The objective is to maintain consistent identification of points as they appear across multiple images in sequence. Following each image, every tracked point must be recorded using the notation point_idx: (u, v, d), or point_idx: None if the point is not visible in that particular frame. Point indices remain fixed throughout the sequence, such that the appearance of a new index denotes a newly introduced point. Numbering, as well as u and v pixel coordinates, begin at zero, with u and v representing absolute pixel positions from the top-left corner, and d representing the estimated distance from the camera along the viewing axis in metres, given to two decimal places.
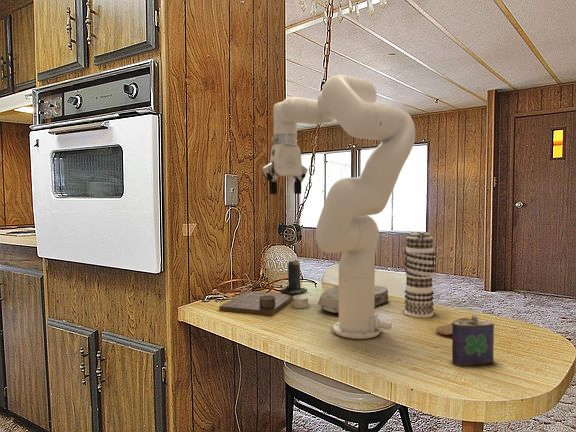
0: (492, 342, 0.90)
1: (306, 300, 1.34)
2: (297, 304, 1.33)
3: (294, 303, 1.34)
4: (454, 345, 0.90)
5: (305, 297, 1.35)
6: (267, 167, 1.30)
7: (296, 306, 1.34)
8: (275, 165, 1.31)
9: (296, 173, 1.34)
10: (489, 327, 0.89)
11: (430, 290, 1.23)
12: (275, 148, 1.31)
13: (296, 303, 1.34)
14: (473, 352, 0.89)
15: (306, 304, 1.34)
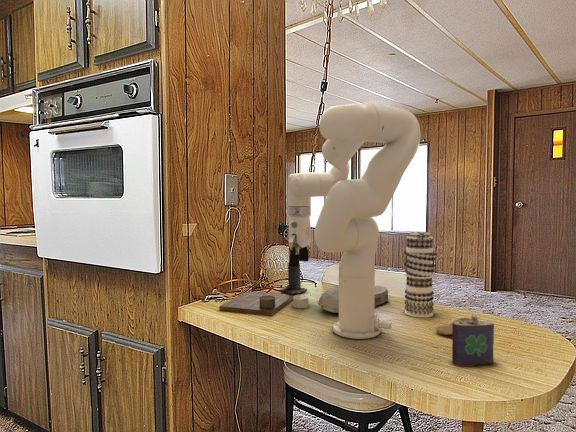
0: (492, 342, 0.90)
1: (306, 300, 1.34)
2: (297, 304, 1.33)
3: (294, 303, 1.34)
4: (454, 345, 0.90)
5: (305, 297, 1.35)
6: (293, 241, 1.28)
7: (296, 306, 1.34)
8: (298, 238, 1.29)
9: (309, 243, 1.36)
10: (489, 327, 0.89)
11: (430, 290, 1.23)
12: (297, 221, 1.29)
13: (296, 303, 1.34)
14: (473, 352, 0.89)
15: (306, 304, 1.34)
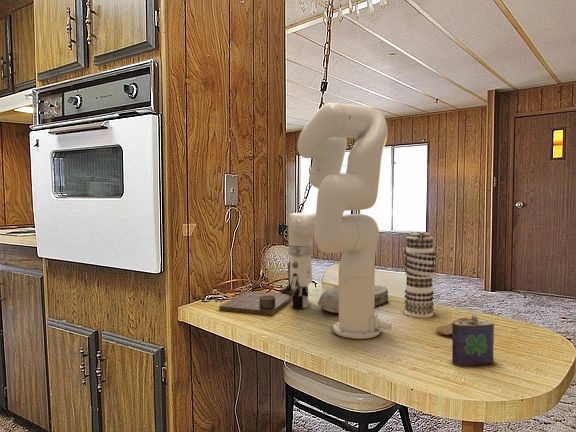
0: (492, 342, 0.90)
1: (306, 300, 1.34)
2: None
3: None
4: (454, 345, 0.90)
5: (305, 297, 1.35)
6: (295, 285, 1.29)
7: None
8: (300, 278, 1.30)
9: (310, 281, 1.37)
10: (489, 327, 0.89)
11: (430, 290, 1.23)
12: (298, 261, 1.30)
13: None
14: (473, 352, 0.89)
15: (306, 304, 1.34)
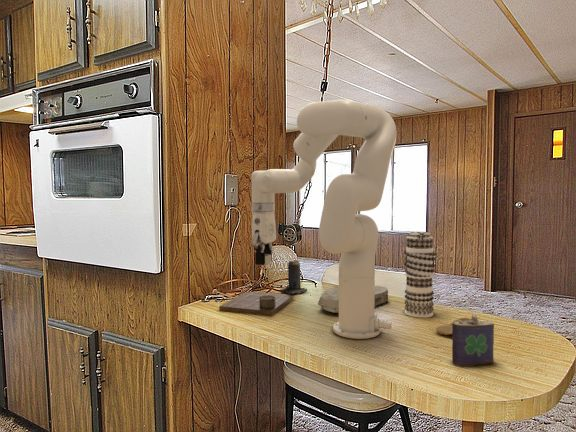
0: (492, 342, 0.90)
1: (269, 257, 1.35)
2: None
3: None
4: (454, 345, 0.90)
5: (268, 255, 1.36)
6: (257, 241, 1.30)
7: None
8: (261, 234, 1.31)
9: (274, 239, 1.37)
10: (489, 327, 0.89)
11: (430, 290, 1.23)
12: (260, 217, 1.31)
13: None
14: (473, 352, 0.89)
15: (269, 261, 1.35)
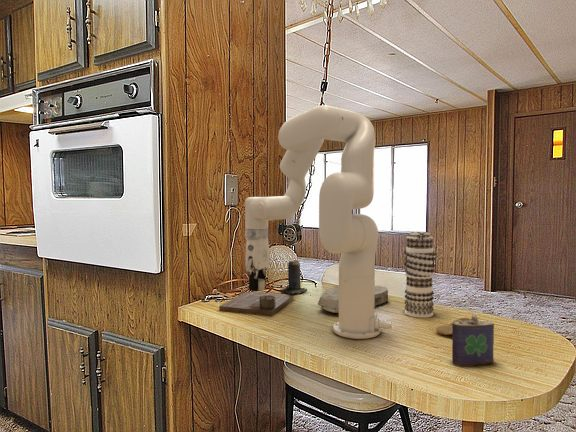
0: (492, 342, 0.90)
1: (262, 283, 1.36)
2: None
3: None
4: (454, 345, 0.90)
5: (262, 280, 1.37)
6: (250, 267, 1.31)
7: None
8: (255, 261, 1.32)
9: (267, 264, 1.38)
10: (489, 327, 0.89)
11: (430, 290, 1.23)
12: (254, 243, 1.32)
13: None
14: (473, 352, 0.89)
15: (262, 287, 1.36)
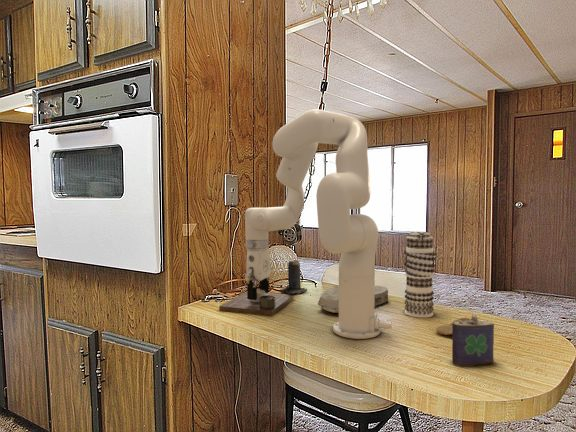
0: (492, 342, 0.90)
1: (263, 294, 1.36)
2: None
3: None
4: (454, 345, 0.90)
5: (262, 291, 1.37)
6: (249, 275, 1.30)
7: (253, 300, 1.36)
8: (255, 271, 1.32)
9: (268, 275, 1.38)
10: (489, 327, 0.89)
11: (430, 290, 1.23)
12: (254, 254, 1.32)
13: None
14: (473, 352, 0.89)
15: None
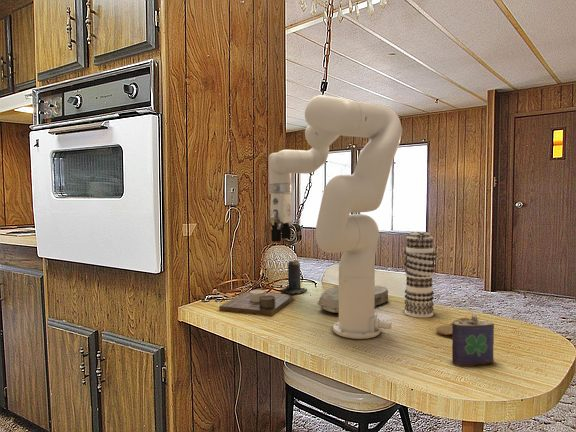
0: (492, 342, 0.90)
1: (263, 294, 1.36)
2: (254, 298, 1.35)
3: (251, 297, 1.36)
4: (454, 345, 0.90)
5: (262, 291, 1.37)
6: (274, 216, 1.33)
7: (253, 300, 1.36)
8: (280, 213, 1.35)
9: (290, 220, 1.41)
10: (489, 327, 0.89)
11: (430, 290, 1.23)
12: (278, 197, 1.35)
13: (252, 297, 1.36)
14: (473, 352, 0.89)
15: None
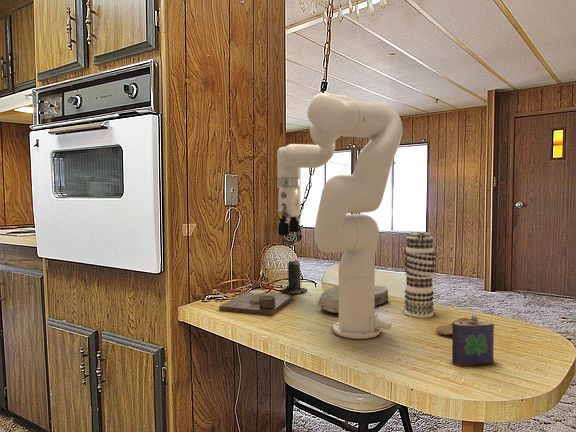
0: (492, 342, 0.90)
1: (263, 294, 1.36)
2: (254, 298, 1.35)
3: (251, 297, 1.36)
4: (454, 345, 0.90)
5: (262, 291, 1.37)
6: (282, 210, 1.34)
7: (253, 300, 1.36)
8: (288, 207, 1.36)
9: (298, 213, 1.43)
10: (489, 327, 0.89)
11: (430, 290, 1.23)
12: (286, 191, 1.36)
13: (252, 297, 1.36)
14: (473, 352, 0.89)
15: None
